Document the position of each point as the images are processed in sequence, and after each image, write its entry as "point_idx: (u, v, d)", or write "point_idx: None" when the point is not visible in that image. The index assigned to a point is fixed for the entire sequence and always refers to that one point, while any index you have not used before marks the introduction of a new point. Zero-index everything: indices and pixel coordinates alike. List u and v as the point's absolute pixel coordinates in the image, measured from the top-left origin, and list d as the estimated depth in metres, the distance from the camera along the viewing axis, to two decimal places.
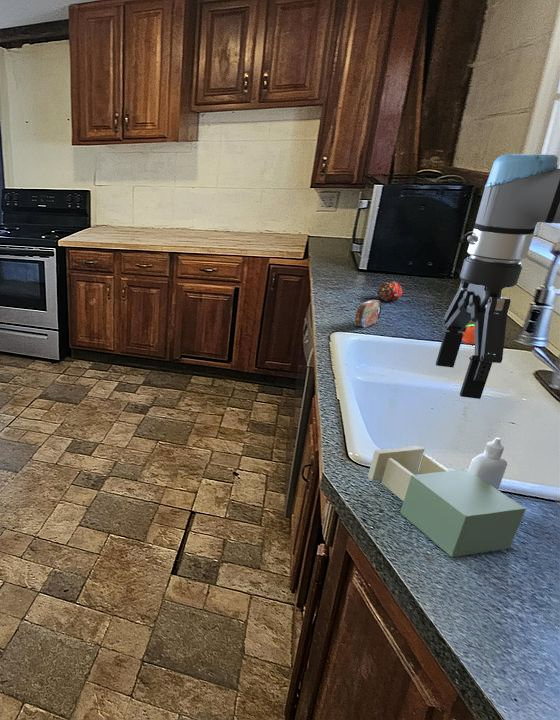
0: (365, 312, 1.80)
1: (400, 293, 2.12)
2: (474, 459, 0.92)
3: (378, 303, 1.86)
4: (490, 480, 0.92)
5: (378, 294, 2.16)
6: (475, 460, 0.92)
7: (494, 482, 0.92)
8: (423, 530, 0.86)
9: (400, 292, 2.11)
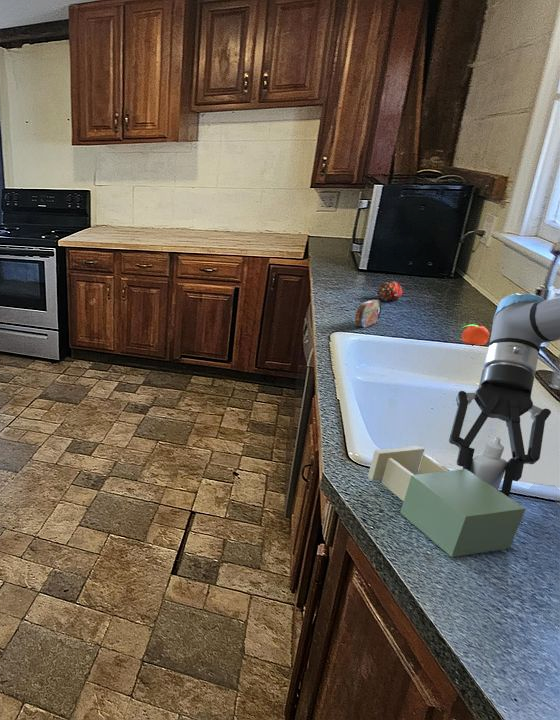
0: (364, 312, 1.80)
1: (400, 293, 2.12)
2: (474, 459, 0.92)
3: (378, 303, 1.86)
4: (490, 480, 0.92)
5: (378, 294, 2.16)
6: (475, 460, 0.92)
7: (494, 482, 0.92)
8: (423, 530, 0.86)
9: (400, 292, 2.11)
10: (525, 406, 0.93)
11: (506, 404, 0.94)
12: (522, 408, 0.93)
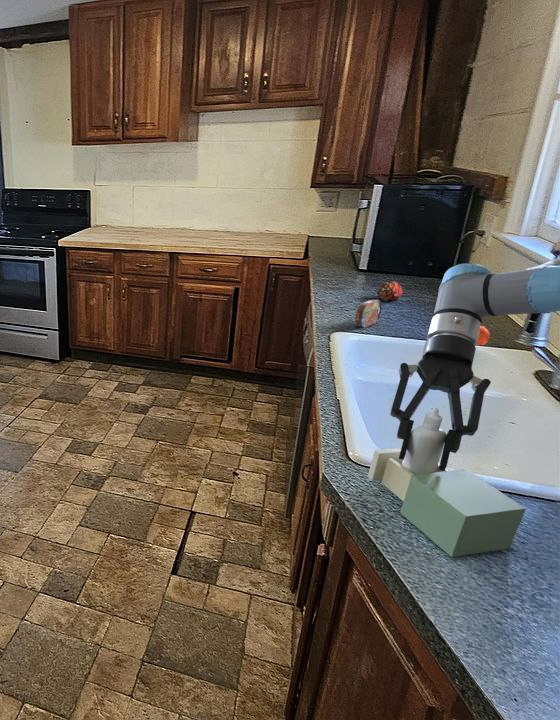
0: (364, 312, 1.80)
1: (400, 293, 2.12)
2: (413, 431, 0.90)
3: (378, 303, 1.86)
4: (429, 452, 0.89)
5: (378, 294, 2.16)
6: (414, 432, 0.90)
7: (433, 455, 0.90)
8: (423, 530, 0.86)
9: (400, 292, 2.11)
10: (465, 377, 0.91)
11: (447, 375, 0.92)
12: (462, 379, 0.91)
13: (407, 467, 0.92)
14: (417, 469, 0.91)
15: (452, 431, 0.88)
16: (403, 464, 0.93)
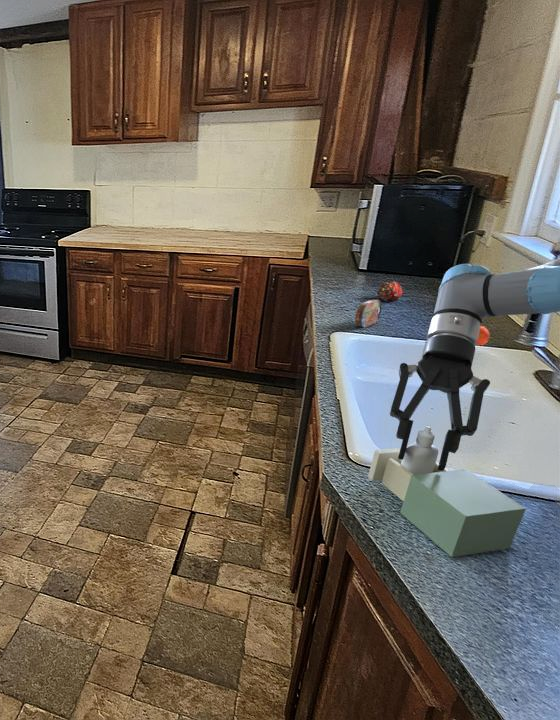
0: (364, 312, 1.80)
1: (400, 293, 2.12)
2: (407, 449, 0.91)
3: (378, 303, 1.86)
4: (423, 469, 0.91)
5: (378, 294, 2.16)
6: (408, 450, 0.91)
7: (427, 471, 0.91)
8: (423, 530, 0.86)
9: (400, 292, 2.11)
10: (465, 377, 0.91)
11: (446, 375, 0.92)
12: (462, 379, 0.91)
13: None
14: None
15: (451, 431, 0.88)
16: None
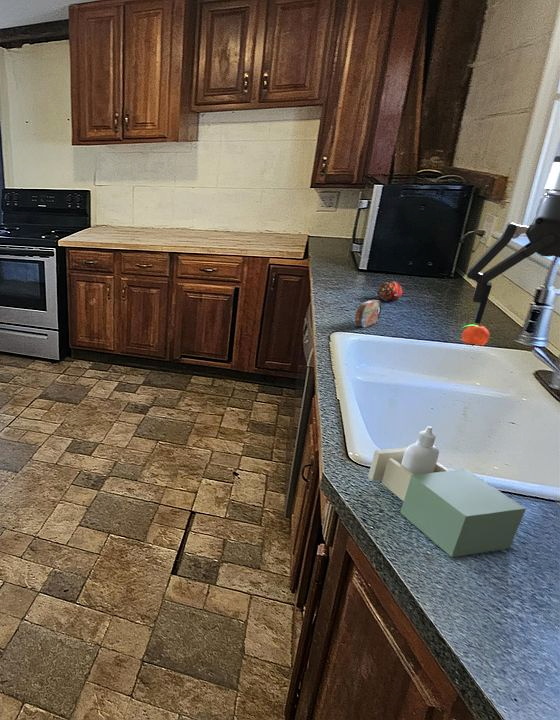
0: (364, 312, 1.80)
1: (400, 293, 2.12)
2: (408, 449, 0.91)
3: (378, 303, 1.86)
4: (424, 469, 0.91)
5: (378, 294, 2.16)
6: (409, 450, 0.91)
7: (427, 471, 0.91)
8: (423, 530, 0.86)
9: (400, 292, 2.11)
10: None
11: None
12: None
13: None
14: None
15: None
16: None
